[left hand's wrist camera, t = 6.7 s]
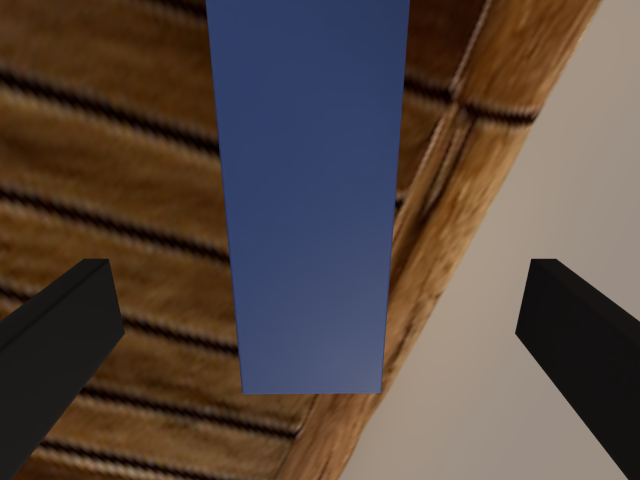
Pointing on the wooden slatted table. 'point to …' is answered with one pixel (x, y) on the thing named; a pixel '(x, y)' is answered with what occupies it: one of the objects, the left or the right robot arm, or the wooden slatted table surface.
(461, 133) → the wooden slatted table surface
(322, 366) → the bar
